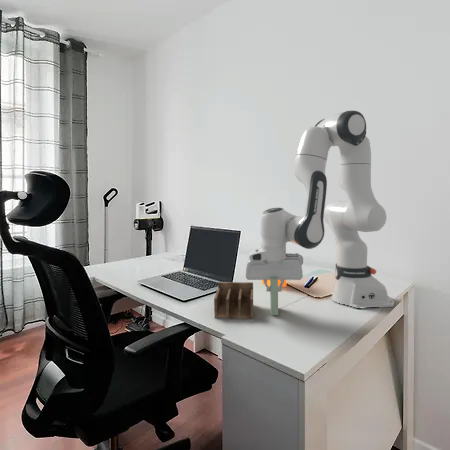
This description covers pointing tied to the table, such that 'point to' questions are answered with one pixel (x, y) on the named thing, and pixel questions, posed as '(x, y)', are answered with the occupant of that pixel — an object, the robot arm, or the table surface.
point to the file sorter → (234, 300)
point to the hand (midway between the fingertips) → (273, 291)
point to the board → (274, 295)
